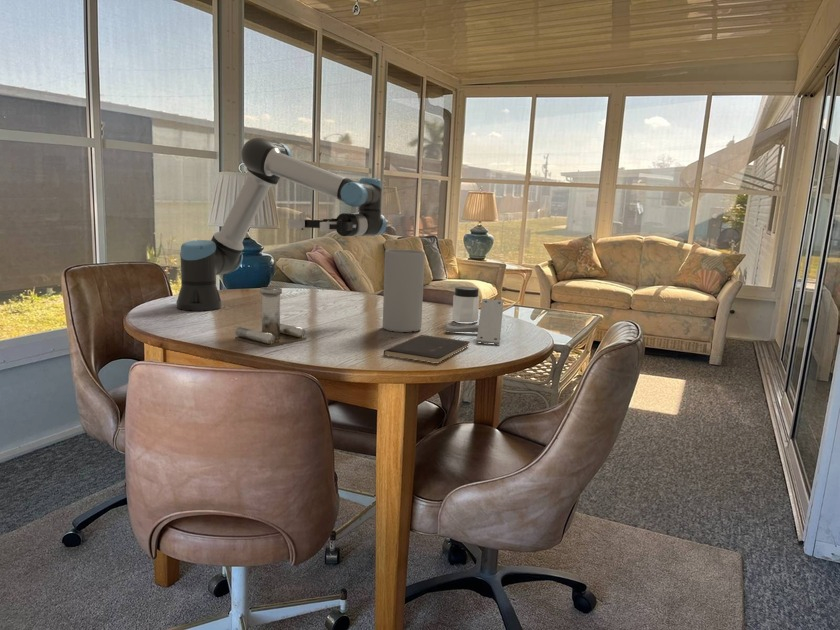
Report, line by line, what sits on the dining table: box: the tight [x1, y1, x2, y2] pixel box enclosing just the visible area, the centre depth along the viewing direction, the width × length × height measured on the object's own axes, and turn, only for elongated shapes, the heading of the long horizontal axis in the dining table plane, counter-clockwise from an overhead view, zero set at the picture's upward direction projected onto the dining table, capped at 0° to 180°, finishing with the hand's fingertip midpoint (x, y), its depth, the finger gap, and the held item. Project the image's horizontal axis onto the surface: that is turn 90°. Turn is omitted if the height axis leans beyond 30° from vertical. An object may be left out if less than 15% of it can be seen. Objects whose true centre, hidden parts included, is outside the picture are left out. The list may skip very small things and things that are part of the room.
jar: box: [451, 286, 480, 322], centre depth 220 cm, size 9×8×12 cm
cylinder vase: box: [382, 249, 426, 333], centre depth 202 cm, size 12×12×25 cm
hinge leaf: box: [234, 323, 307, 348], centre depth 181 cm, size 14×14×3 cm
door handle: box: [444, 298, 504, 345], centre depth 197 cm, size 18×8×20 cm
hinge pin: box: [259, 286, 283, 339], centre depth 180 cm, size 6×6×14 cm
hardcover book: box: [382, 334, 471, 363], centre depth 175 cm, size 16×23×2 cm
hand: (304, 225), depth 193 cm, fingers open, 13 cm apart
